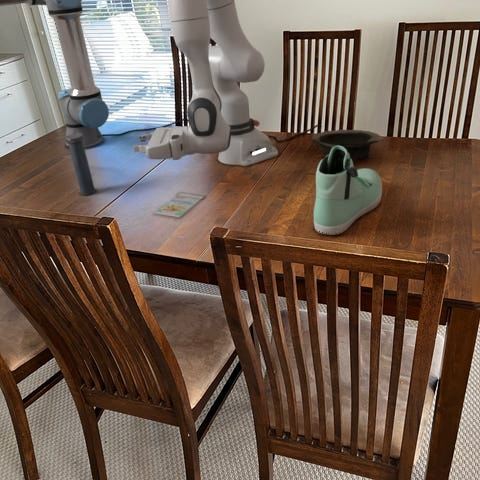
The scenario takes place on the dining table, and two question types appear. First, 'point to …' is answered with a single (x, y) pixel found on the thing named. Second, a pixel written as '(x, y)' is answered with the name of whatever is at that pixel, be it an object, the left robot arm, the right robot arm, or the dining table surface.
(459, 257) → the dining table surface
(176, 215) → the baking ingredient package
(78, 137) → the lid
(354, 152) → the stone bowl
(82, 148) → the dark grey cylinder
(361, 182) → the sneaker
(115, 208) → the dining table surface
